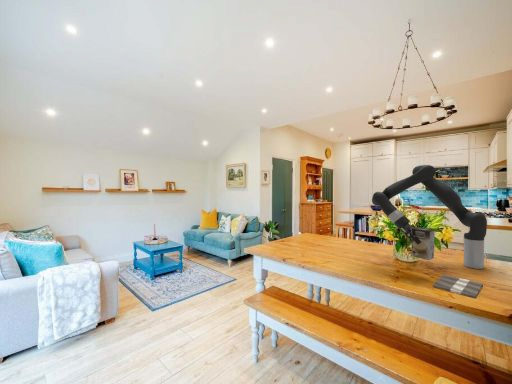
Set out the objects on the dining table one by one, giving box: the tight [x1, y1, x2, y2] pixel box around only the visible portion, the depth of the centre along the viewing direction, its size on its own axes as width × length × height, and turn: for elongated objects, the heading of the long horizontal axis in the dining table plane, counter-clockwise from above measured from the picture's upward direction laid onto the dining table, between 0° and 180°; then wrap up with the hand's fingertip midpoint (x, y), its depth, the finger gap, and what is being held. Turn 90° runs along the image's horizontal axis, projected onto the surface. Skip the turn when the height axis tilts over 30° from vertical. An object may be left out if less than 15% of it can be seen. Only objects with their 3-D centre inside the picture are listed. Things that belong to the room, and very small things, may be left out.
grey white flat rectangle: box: [432, 274, 484, 299], centre depth 119 cm, size 20×16×1 cm
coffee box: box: [411, 226, 436, 261], centre depth 130 cm, size 9×6×16 cm
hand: (421, 242), depth 130 cm, fingers closed on coffee box, 7 cm apart
